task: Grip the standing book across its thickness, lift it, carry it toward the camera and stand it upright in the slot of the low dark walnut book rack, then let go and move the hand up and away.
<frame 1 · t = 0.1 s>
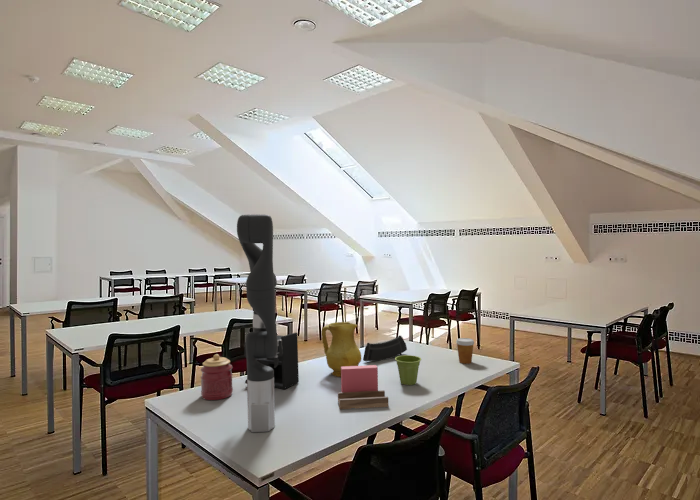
hand: (263, 367, 167), 17 cm above the table, tool pointing down, fingers open, 8 cm apart
disposable coffee cup: (465, 362, 234), on the table
pitcher: (343, 373, 219), on the table
canister: (217, 395, 188), on the table
book: (359, 395, 185), on the table
plant pot: (408, 383, 201), on the table
magazine: (385, 358, 245), on the table
bookend: (271, 383, 204), on the table
book rack: (362, 403, 175), on the table
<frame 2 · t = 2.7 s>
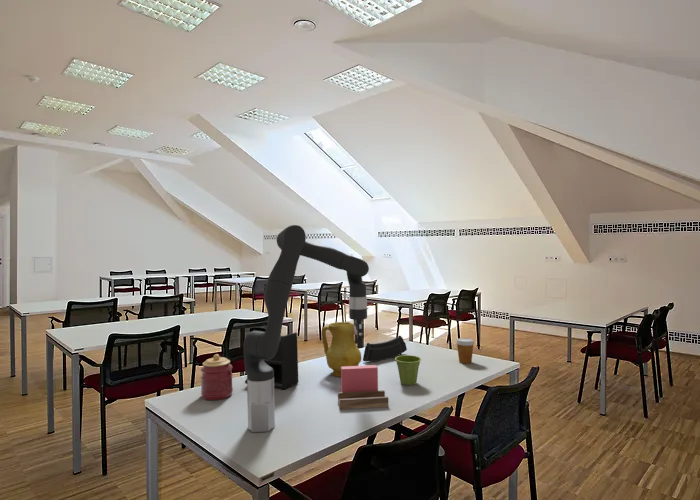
hand: (358, 345, 185), 21 cm above the table, tool pointing down, fingers open, 8 cm apart
nothing on the table moved.
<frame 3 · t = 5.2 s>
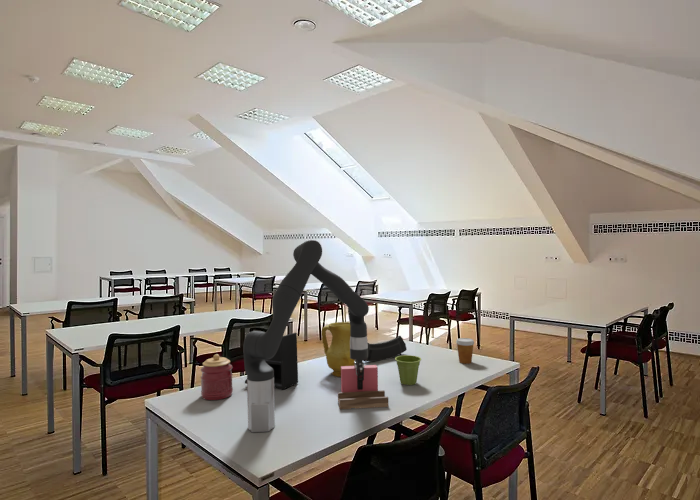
hand: (359, 387, 185), 3 cm above the table, tool pointing down, fingers closed on book, 4 cm apart
book: (359, 395, 185), on the table, touching gripper
everything else where it was.
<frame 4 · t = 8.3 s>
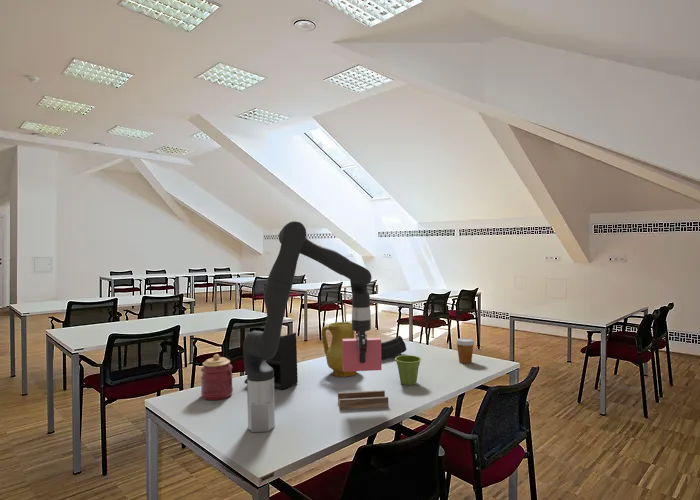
hand: (361, 361, 175), 17 cm above the table, tool pointing down, fingers closed on book, 4 cm apart
book: (361, 369, 175), point 14 cm above the table, touching gripper
everything else where it was.
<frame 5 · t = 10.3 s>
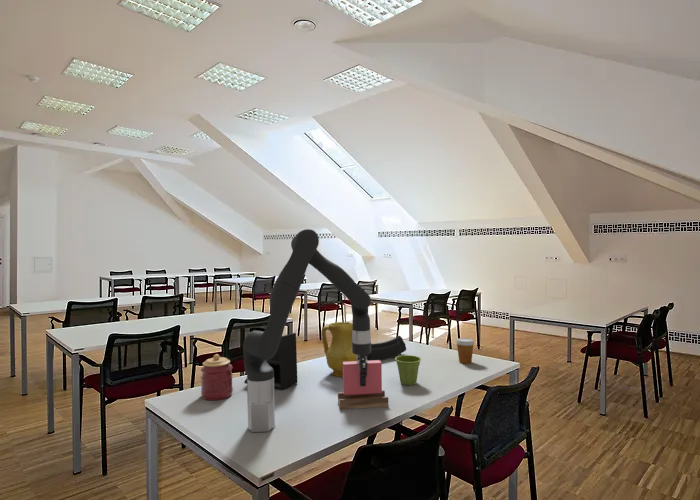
hand: (362, 384, 175), 8 cm above the table, tool pointing down, fingers closed on book, 4 cm apart
book: (362, 392, 175), point 5 cm above the table, touching gripper
everything else where it was.
when the fingers open (6 cm above the table, at t = 11.7 s): book stays where it is, resting on book rack.
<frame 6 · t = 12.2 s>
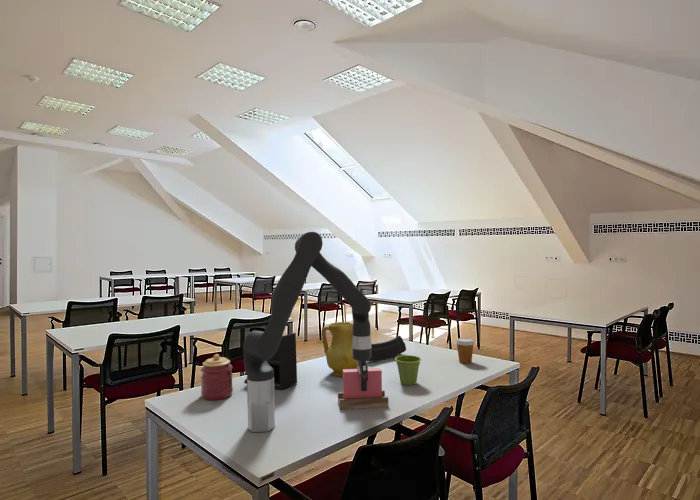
hand: (362, 387, 175), 7 cm above the table, tool pointing down, fingers open, 8 cm apart
book: (362, 400, 175), point 1 cm above the table, touching book rack
everything else where it was.
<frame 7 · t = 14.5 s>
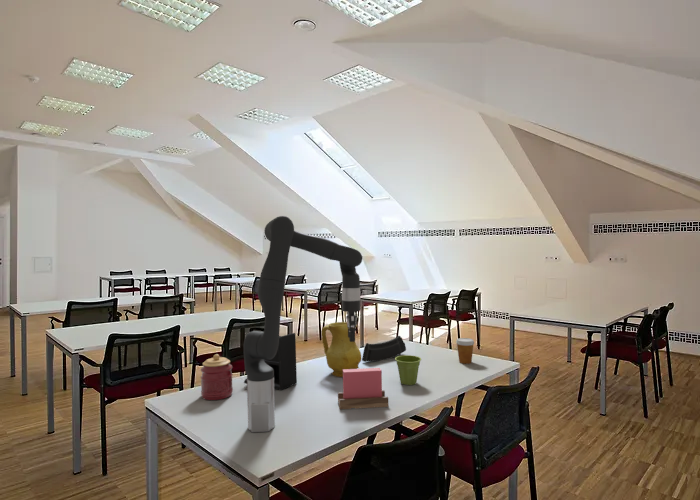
hand: (351, 339, 177), 25 cm above the table, tool pointing down, fingers open, 8 cm apart
nothing on the table moved.
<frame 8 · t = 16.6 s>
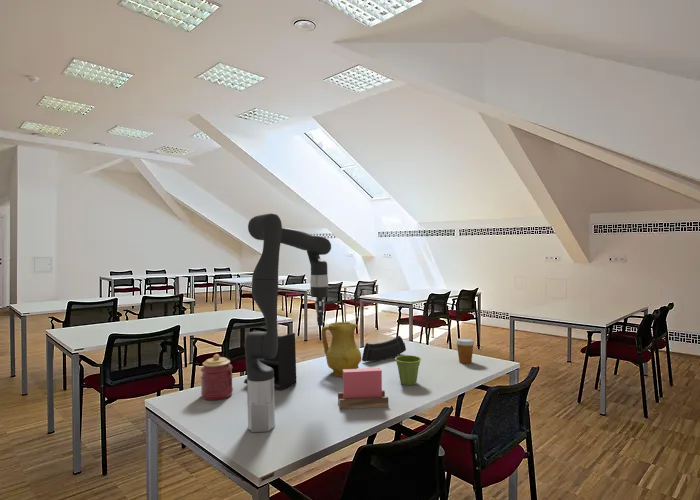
hand: (320, 323, 186), 30 cm above the table, tool pointing down, fingers open, 8 cm apart
nothing on the table moved.
at the end: book 0.1 cm from the target spot, point 1.5 cm above the table; book tilted 0°; the gripper is holding nothing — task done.
